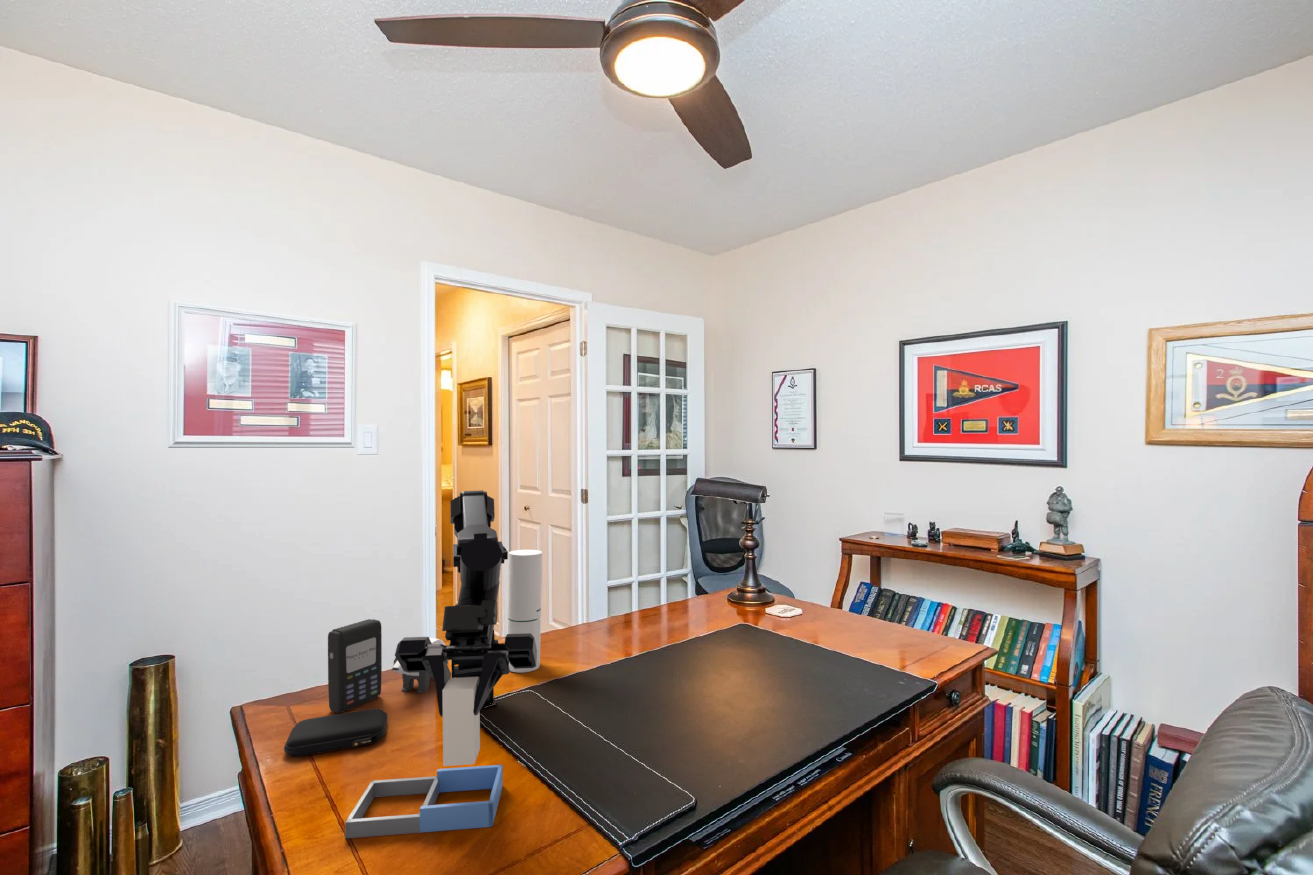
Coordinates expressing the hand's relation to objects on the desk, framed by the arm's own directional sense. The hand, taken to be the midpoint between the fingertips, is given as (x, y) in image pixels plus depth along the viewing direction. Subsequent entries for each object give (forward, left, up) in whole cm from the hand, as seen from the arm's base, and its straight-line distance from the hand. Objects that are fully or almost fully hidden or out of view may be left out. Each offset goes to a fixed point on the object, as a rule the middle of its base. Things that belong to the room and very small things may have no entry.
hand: (458, 714), depth 79 cm
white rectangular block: (-1, -2, -7) cm, 7 cm away
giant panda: (-7, -47, -14) cm, 49 cm away
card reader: (+5, -46, -14) cm, 48 cm away
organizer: (+3, -4, -13) cm, 14 cm away
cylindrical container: (-28, -44, -13) cm, 54 cm away
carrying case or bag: (+10, -33, -14) cm, 37 cm away
